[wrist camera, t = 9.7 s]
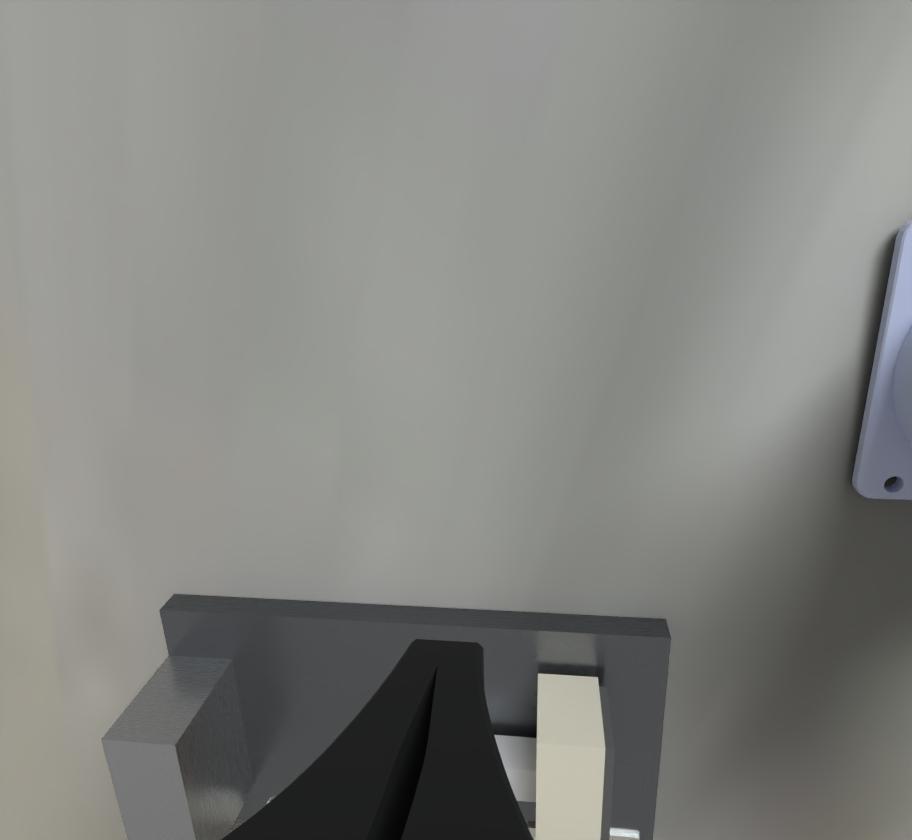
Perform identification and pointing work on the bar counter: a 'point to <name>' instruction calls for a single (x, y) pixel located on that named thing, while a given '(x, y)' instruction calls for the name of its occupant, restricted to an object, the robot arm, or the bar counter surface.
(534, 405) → the bar counter surface
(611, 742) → the cream and grey block
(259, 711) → the plate
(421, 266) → the bar counter surface
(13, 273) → the bar counter surface
